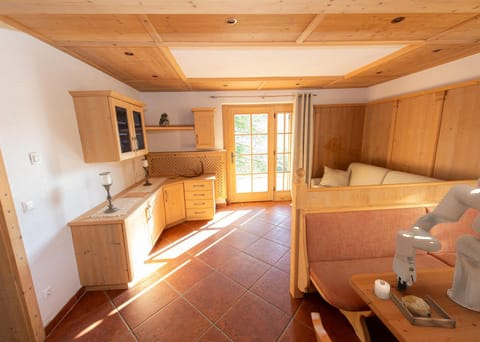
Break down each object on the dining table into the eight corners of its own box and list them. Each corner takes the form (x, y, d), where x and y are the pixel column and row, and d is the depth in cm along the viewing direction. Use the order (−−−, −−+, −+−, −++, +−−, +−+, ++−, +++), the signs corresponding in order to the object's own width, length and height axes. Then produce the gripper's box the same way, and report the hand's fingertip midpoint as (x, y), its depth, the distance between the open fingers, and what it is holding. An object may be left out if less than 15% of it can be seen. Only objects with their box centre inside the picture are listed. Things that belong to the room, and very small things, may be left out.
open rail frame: (427, 300, 92) (427, 294, 92) (455, 327, 79) (456, 321, 78) (391, 298, 94) (391, 292, 94) (412, 325, 81) (413, 318, 80)
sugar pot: (384, 290, 99) (385, 277, 98) (392, 299, 93) (393, 285, 92) (371, 289, 100) (372, 276, 99) (378, 299, 94) (379, 285, 93)
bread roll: (420, 329, 82) (433, 320, 78) (394, 306, 89) (405, 297, 85) (426, 316, 88) (438, 307, 84) (401, 295, 95) (411, 286, 91)
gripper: (425, 265, 87) (422, 301, 90) (402, 247, 102) (399, 279, 105) (407, 265, 88) (404, 301, 91) (386, 247, 103) (384, 278, 106)
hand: (401, 289), depth 98 cm, fingers closed
